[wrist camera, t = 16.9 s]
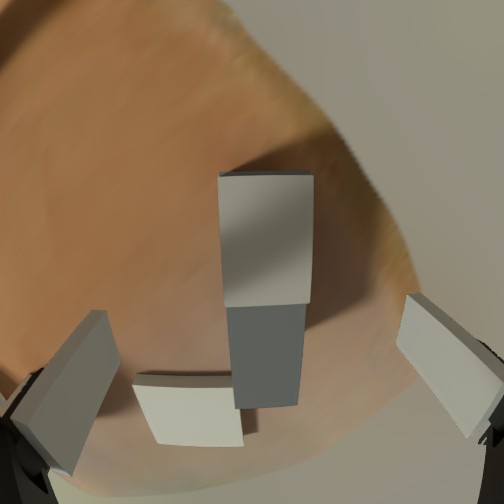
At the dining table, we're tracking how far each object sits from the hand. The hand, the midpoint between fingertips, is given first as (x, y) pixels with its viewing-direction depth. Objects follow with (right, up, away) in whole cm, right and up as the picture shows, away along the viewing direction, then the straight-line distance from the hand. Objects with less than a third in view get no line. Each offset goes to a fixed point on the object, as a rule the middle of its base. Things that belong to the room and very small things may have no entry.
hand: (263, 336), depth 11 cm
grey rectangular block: (0, +2, +11) cm, 11 cm away
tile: (-7, -9, +13) cm, 17 cm away
